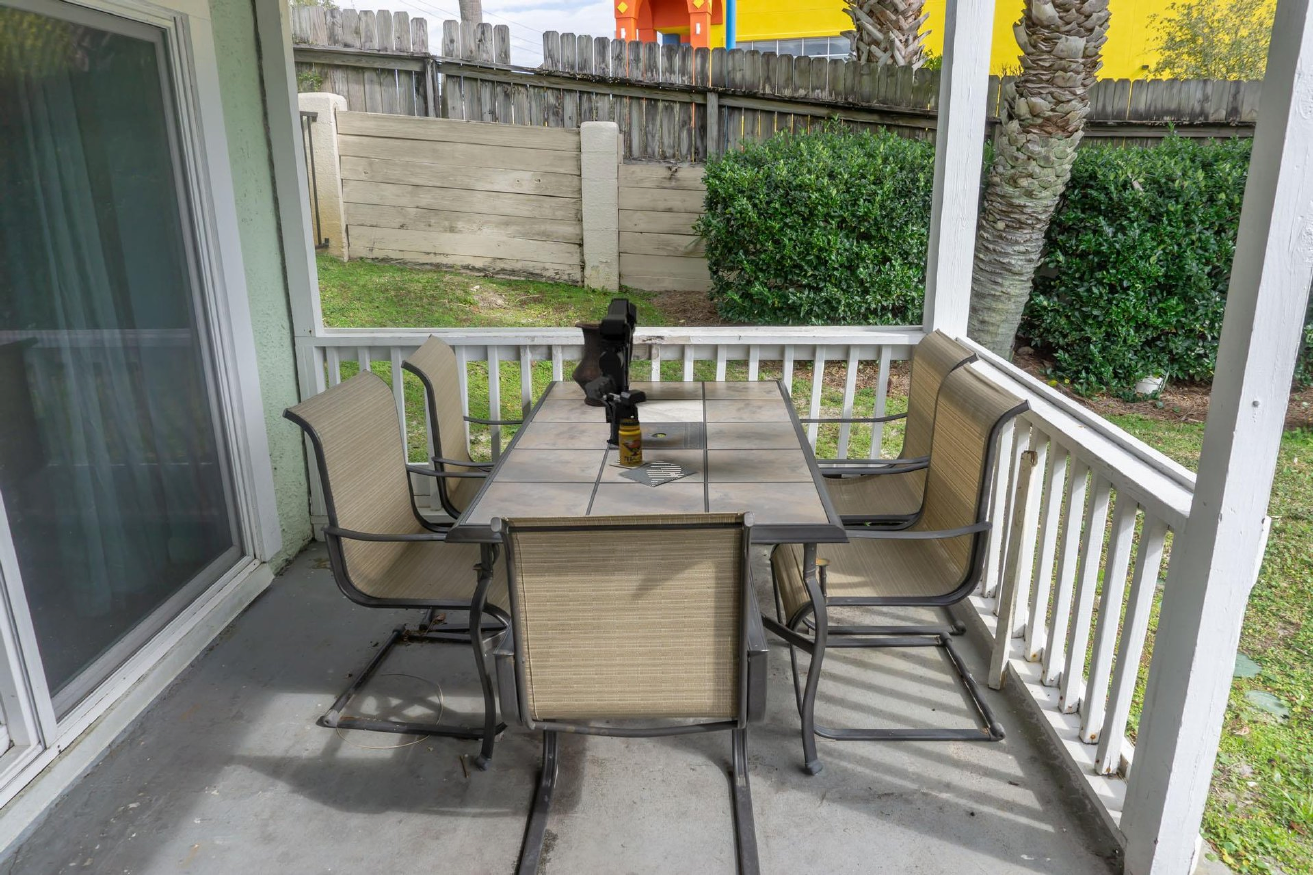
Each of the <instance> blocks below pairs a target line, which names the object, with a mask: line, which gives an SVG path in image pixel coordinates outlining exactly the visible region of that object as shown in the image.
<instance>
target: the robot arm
mask: <svg viewBox="0 0 1313 875" xmlns="http://www.w3.org/2000/svg"><path fill="white" fill-rule="evenodd" d="M638 311H639V310H638V306H636V305H635V304H634V303H633V302H631V300H630V298H628V297H613V298H611V300H610V304H609V305H607V314H606V316H603V317H602V319H601V321H600V322H601V323H599V328H598V344H597V347H603V354H602V356H601V357H600V359H599V367H600V369H601V370H600V373H599V378H597V379H595V380H593V381H592V382H590V383H587V384H586V386H585V392H584V394H585V395H586V394H588V396H589V397H590V398H591V397H592V398H595V399H599V400H601V401H602V402H603V403H605V404H606V405H604V406H605V407H604V409H605V411H604V412H605V423H606V424H610V426H609V428H610V429H609V430H610V432H609V433H610V434H609V435H610V439H606V442H607V444H608V443H609V444H611V445H612V444H613V445H614V446H615V445H616V446H619V430H620V421H621V420H622V419H627V418H634V419H638V420H639V407H637V405H638V404H642V403H646V402H647V394H646V392H644V390H639V389H636V388H634V389H633V388H632V389H630V385H629V380H630V379H629V378H630V377H629V376H630V367H629V351H630V338H631V337H632V335H633V336H634V334H635V332H636V325H638V323H639V312H638ZM601 337H602V343H601Z"/></svg>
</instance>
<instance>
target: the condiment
mask: <svg viewBox="0 0 1313 875" xmlns="http://www.w3.org/2000/svg"><path fill="white" fill-rule="evenodd" d="M640 423H641V421H640V420H639V418H638V419H634V418H627V419H622V420H621V421H620V430H619V447H618V454H619V459H620V460H618V459H617V461H620V462H616V460H615V462H614V461H613V462H610V463H608V466H615V467H616V466H617V467H620V468H627V469H634V468H638V467H641V466H644V464H645V465H646V463H648V462H649V460H643V437H642V430H641V425H640ZM613 463H614V464H613ZM615 463H620V464H615Z"/></svg>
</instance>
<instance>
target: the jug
mask: <svg viewBox="0 0 1313 875" xmlns="http://www.w3.org/2000/svg"><path fill="white" fill-rule="evenodd" d="M599 323H601V321H597V322H596V321H592V322H583V323H582V322H580V323H577V324H575V325H574V327H576V328H578V329H581V331H582V334H583V335H582V336H583V340H584V341H583V343H584V354H583V358H582V359H581V361H580V362H579V363H578V364H577V366H576V367H575V368H574V369H573V371H572V373H571V377H572V380H574V381H575V382H576V383H577V385H578V386H579V387H580V388H581V390H583V392H584V393H585V386H586V384H587V383H590V382H592V381H593V380H595V379H597V378H599V373H600V370H601V369H600V367H599V359H600V357H601V356H602V354H603V347H597V344H598V328H599ZM601 343H602V337H601ZM633 346H634V334H633V335H632V337H631V338H630V351H629V368H630V367H631V363H632V358H633V350H634V347H633ZM583 401H584V402H583V403H585V404H587V405H592V406H605V405H606V404H605V403H603V402H602V401H601V400H599V399H595V398H592V397H591V398H590V397H589V396H588V394H585V398H584V400H583Z"/></svg>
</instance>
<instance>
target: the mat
mask: <svg viewBox="0 0 1313 875" xmlns="http://www.w3.org/2000/svg"><path fill="white" fill-rule="evenodd" d="M660 461H664V460H663V459H661V460H660ZM653 463H671V462H669V461H666V462H657V461H654V462H653ZM651 466H680V467H651ZM661 468H681V469H661ZM647 470H681V471H663V472H680V473H675V474H684V475H678V476H684V477H686V476H685V475H687V476H690V475H693V474H696V473H698V470H695V469H691V468H689V467H686V466H682V465H680V464H679V465H678V464H676V465H671V464H651V463H648V464H645V465H644V464H643V465H641V466H639V467H637V468H630V469H629V470H624V471H622V472H619V473H617V475H618V474H619V475H618V476H620V475H621V476H620V477H623V476H625V477H627V478H626V479H628V478H629V480H631V479H633V480H632V481H634V480H635V481H634V482H637V481H639V482H638V483H640V482H641V484H643V483H645V484H644V485H646V484H647V485H646V486H648V485H651V486H652V485H657V484H660V483H663V484H665V483H664V482H666V481H669V482H671V481H670V480H672V479H675V480H677V479H676V478H678V477H649V476H671V475H648V474H670V473H647V472H662V471H647ZM695 472H696V473H695ZM689 474H690V475H689ZM625 477H624V478H625ZM652 479H664V480H652ZM678 479H679V478H678ZM651 481H658V482H651ZM672 481H673V480H672ZM652 483H655V484H652ZM656 483H657V484H656ZM666 483H667V482H666ZM660 485H661V484H660ZM651 486H650V487H651ZM657 486H658V485H657Z"/></svg>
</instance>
